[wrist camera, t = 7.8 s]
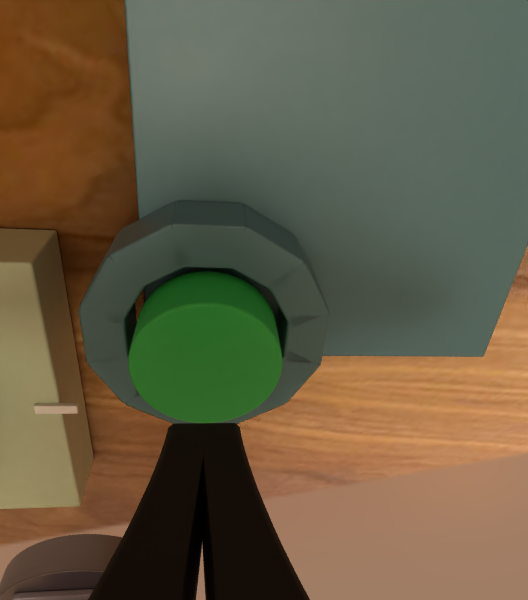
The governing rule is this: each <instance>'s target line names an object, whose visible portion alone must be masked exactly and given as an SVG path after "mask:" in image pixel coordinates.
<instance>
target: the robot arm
mask: <svg viewBox="0 0 528 600" xmlns="http://www.w3.org/2000/svg"><path fill="white" fill-rule="evenodd" d="M202 544H203V561H204V578H205V594H206V600H310V599H309V597H308V595H307V593H306V591H305V590H304V588H303V586H302V584H301V582H300V580H299V578H298V576H297V574H296V572H295V571H294V568H293V566H292V565H291V563H290V561H289V558H288V556H287V554H286V552H285V550H284V548H283V546H282V544H281V542H280V540H279V538H278V535H277V533H276V531H275V529H274V527H273V524H272V522H271V519H270V517H269V515H268V512H267V510H266V508H265V505H264V503H263V500H262V498H261V496H260V493H259V491H258V488H257V485H256V483H255V480H254V477H253V474H252V471H251V468H250V466H249V462H248V459H247V456H246V453H245V449H244V445H243V441H242V437H241V432H240V427H239V426H238V425H237V424H235V423H176V424H173V425H171V426H170V427H169V428H168V431H167V435H166V439H165V442H164V445H163V448H162V451H161V454H160V457H159V460H158V462H157V465H156V467H155V470H154V472H153V474H152V477H151V479H150V482H149V484H148V486H147V488H146V491H145V493H144V495H143V497H142V499H141V501H140V503H139V505H138V508H137V510H136V512H135V514H134V516H133V518H132V520H131V522H130V524H129V526H128V528H127V530H126V532H125V534H124V536H123V538H122V540H121V542H120V543H119V545H118V547H117V549H116V551H115V553H114V555H113V556H112V558H111V560H110V562H109V564H108V566H107V568H106V569H105V571H104V573H103V575H102V577H101V578H100V580H99V582H98V584H97V585H96V587H95V589H80V590H60V591H40V592H20V593H16V594H14V595H13V597H12V600H196V593H197V584H198V575H199V566H200V557H201V547H202Z"/></svg>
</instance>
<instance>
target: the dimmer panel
mask: <svg viewBox="0 0 528 600" xmlns="http://www.w3.org/2000/svg"><path fill="white" fill-rule="evenodd" d="M93 459H94V457H93V451H92V445H91V439H90V432H89V426H88V420H87V414H86V408H85V402H84V396H83V390H82V384H81V377H80V371H79V365H78V359H77V353H76V347H75V341H74V335H73V329H72V322H71V316H70V310H69V304H68V298H67V292H66V286H65V280H64V273H63V267H62V261H61V255H60V249H59V243H58V237H57V232H56V231H55V230H32V229H3V228H0V509H12V508H45V507H78V506H80V505H81V501H82V498H83V494H84V491H85V487H86V484H87V480H88V476H89V473H90V469H91V466H92V462H93Z"/></svg>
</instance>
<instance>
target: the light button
mask: <svg viewBox="0 0 528 600" xmlns="http://www.w3.org/2000/svg"><path fill="white" fill-rule="evenodd" d="M128 368H129V374H130V377H131V380H132V382H133V385H134V386H135V388H136V390H137V392H138V393H139V394H140V396H141V397H142V398H143V399H144V400H145V401H146V402H147V403H148V404H149V405H151V406H152V407H153V408H154V409H156V410H158V411H159V412H161V413H163V414H165V415H167V416H169V417H172V418H175V419H178V420H182V421H186V422H193V423H216V422H223V421H227V420H231V419H234V418H237V417H240V416H242V415H244V414H247V413H249V412H250V411H252V410H254V409H255V408H257V407H258V406H259V405H260V404H262V403H263V402H264V401H265V400H266V399H267V398H268V397H269V396H270V394H271V393H272V392H273V390H274V388H275V387H276V385H277V383H278V380H279V378H280V375H281V370H282V352H281V347H280V342H279V337H278V332H277V326H276V321H275V317H274V314H273V311H272V309H271V307H270V304H269V303H268V301H267V300H266V299H265V297H264V296H263V295H262V294H261V293H260V292H259V291H258V290H257V289H256V288H255V287H253V286H252V285H250V284H249V283H247V282H246V281H244V280H242V279H240V278H237V277H235V276H232V275H229V274H225V273H220V272H210V271H204V272H193V273H188V274H184V275H181V276H178V277H176V278H173V279H171V280H169V281H167V282H166V283H164V284H162V285H161V286H160V287H158V288H157V289H156V290H155V291H154V292H153V293H152V294H151V295H150V296H149V297H148V298H147V300H146V301H145V303H144V305H143V306H142V308H141V311H140V314H139V317H138V320H137V324H136V328H135V332H134V336H133V339H132V343H131V347H130V351H129V357H128Z"/></svg>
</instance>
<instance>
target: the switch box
mask: <svg viewBox="0 0 528 600" xmlns="http://www.w3.org/2000/svg"><path fill="white" fill-rule="evenodd" d="M124 3H125V18H126V33H127V48H128V64H129V79H130V94H131V109H132V124H133V139H134V154H135V170H136V185H137V200H138V215H139V220H138V221H136V222H134V223H132V224H130V225H128V226H126V227H124V228H122V229H121V231H120V232H118V233H117V235H116V237H115V239H114V241H113V242H112V244H111V246H110V248H109V250H108V251H107V253H106V255H105V257H104V258H103V260H102V262H101V264H100V266H99V267H98V269H97V271H96V273H95V275H94V276H93V278H92V281H91V283H90V285H89V287H88V289H87V291H86V293H85V295H84V297H83V299H82V301H81V304H80V308H79V317H80V323H81V330H82V337H83V343H84V350H85V356H86V362H87V363H88V364H89V366H90V367H91V368H92V369H93V370H94V372H95V373H96V374H97V375H98V376H99V377H100V378H101V379H102V380H103V381H104V383H105V384H106V385H107V386H108V387H109V388H110V389H111V390H112V391H113V392H114V394H115V395H116V396H117V397H118V398H119V399H120V400H121V401H122V402H123V403H125V404H126V405H127V406H130V407H133V408H135V409H138V410H140V411H143V412H145V413H148V414H150V415H153V416H155V417H158V418H160V419H163V420H166V421H168V422H171V423H173V424H176V423H193V422H186V421H182V420H178V419H175V418H172V417H169V416H167V415H165V414H163V413H161V412H159V411H158V410H156V409H154V408H153V407H152V406H151V405H149V404H148V403H147V402H146V401H145V400H144V399H143V398H142V397H141V396H140V394H139V393H138V392H137V390H136V388H135V386H134V385H133V382H132V380H131V377H130V374H129V368H128V357H129V351H130V347H131V343H132V339H133V336H134V332H135V328H136V324H137V319H136V306H135V302H136V300H137V299H138V297H139V295H140V294H141V292H142V291H144V303H145V301H146V300H147V298H148V297H149V296H150V295H151V294H152V293H153V292H154V291H155V290H156V289H157V288H158V287H160V286H161V285H162V284H164V283H166V282H167V281H169V280H171V279H173V278H176V277H178V276H181V275H184V274H188V273H193V272H204V271H210V272H220V273H225V274H229V275H232V276H235V277H237V278H240V279H242V280H244V281H246V282H247V283H249V284H250V285H252V286H253V287H255V288H256V289H257V290H258V291H259V292H260V293H261V294H262V295H263V296H264V297H265V299H266V300H267V301H268V303H269V304H270V307H271V309H272V311H273V314H274V317H275V321H276V326H277V332H278V337H279V342H280V347H281V352H282V370H281V375H280V378H279V380H278V383H277V385H276V387H275V388H274V390H273V392H272V393H271V394H270V396H269V397H268V398H267V399H266V400H265V401H264V402H263V403H262V404H260V405H259V406H258V407H257V408H255V409H254V410H252V411H250V412H249V413H247V414H244V415H242V416H240V417H237V418H234V419H231V420H227V421H223V422H216V423H235V424H238V423H240V422H243V421H245V420H247V419H250V418H252V417H255V416H257V415H259V414H262V413H264V412H267V411H269V410H271V409H274V408H276V407H279V406H281V405H283V404H285V403H287V402H288V401H289V400H290V399H291V397H292V396H293V395H294V394H295V393H296V392H297V391H298V390H299V388H300V387H301V386H302V385H303V384H304V383H305V382H306V381H307V380H308V378H309V377H310V376H311V375H312V374H313V373H314V372H315V371H316V369H317V368H318V367H319V366H320V363H321V360H322V356H457V357H483V356H484V354H485V351H486V349H487V346H488V344H489V341H490V339H491V336H492V334H493V331H494V329H495V326H496V324H497V321H498V319H499V316H500V314H501V311H502V309H503V306H504V303H505V301H506V298H507V296H508V293H509V291H510V288H511V286H512V283H513V281H514V278H515V276H516V273H517V271H518V268H519V266H520V263H521V261H522V258H523V256H524V253H525V251H526V248H527V245H528V0H124Z"/></svg>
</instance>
